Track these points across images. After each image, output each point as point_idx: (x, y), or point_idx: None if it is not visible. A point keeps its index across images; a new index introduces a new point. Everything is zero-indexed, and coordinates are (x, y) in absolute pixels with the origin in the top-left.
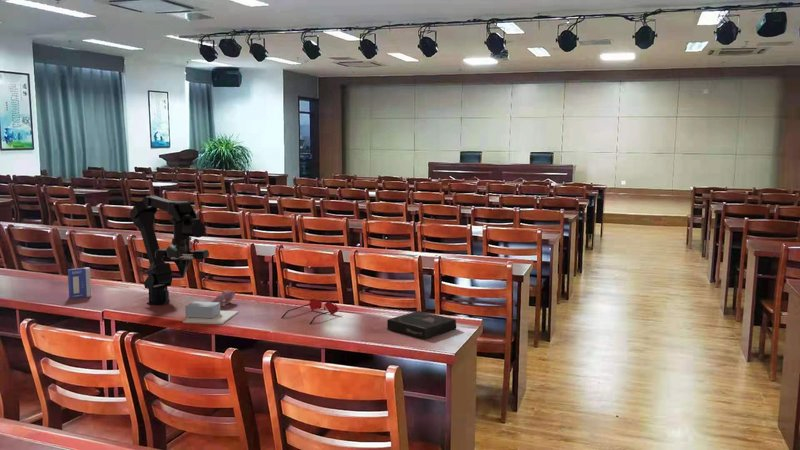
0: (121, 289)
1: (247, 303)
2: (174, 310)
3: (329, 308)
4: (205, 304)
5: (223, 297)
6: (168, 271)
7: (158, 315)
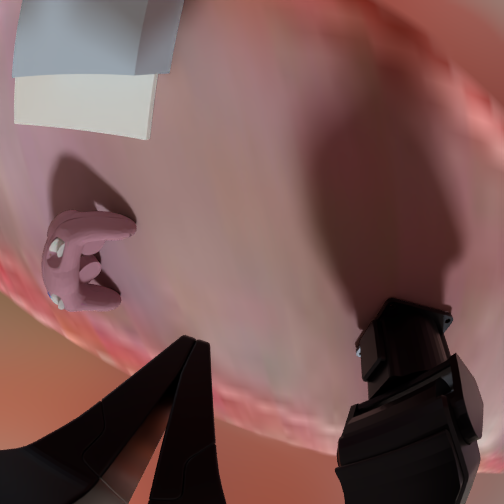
0: None
1: None
2: (312, 170)
3: None
4: (57, 15)
5: (51, 225)
6: (361, 471)
7: (386, 63)
